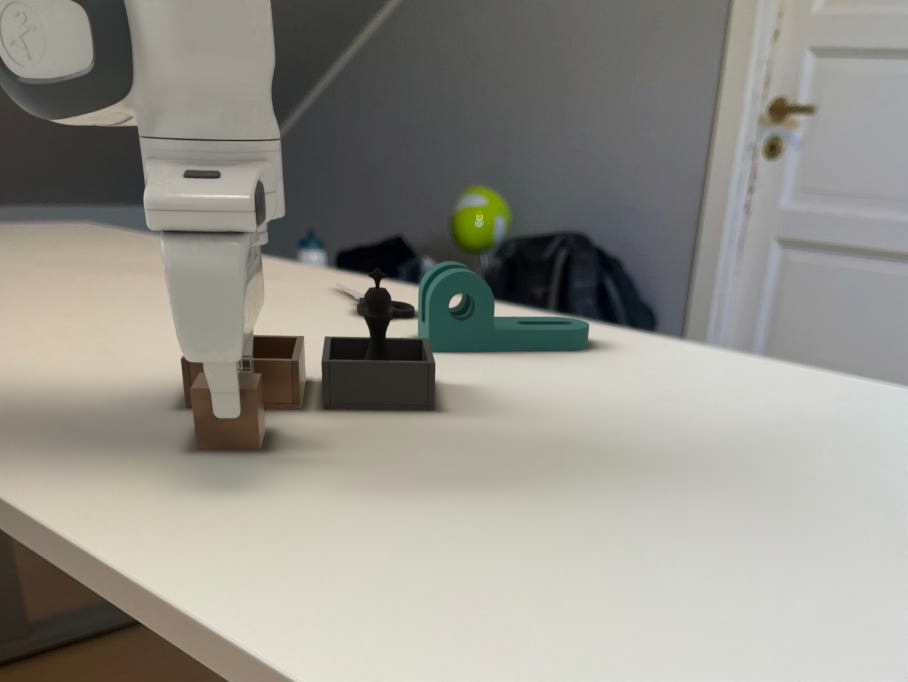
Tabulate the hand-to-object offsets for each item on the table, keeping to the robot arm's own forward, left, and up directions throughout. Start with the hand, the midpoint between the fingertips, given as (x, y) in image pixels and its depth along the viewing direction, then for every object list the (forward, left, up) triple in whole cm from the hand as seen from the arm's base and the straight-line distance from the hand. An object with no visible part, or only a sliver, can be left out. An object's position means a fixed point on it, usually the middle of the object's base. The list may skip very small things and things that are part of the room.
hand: (235, 396), depth 71 cm
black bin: (+10, +13, -3) cm, 17 cm away
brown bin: (-1, +13, -3) cm, 13 cm away
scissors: (+9, +55, -3) cm, 56 cm away
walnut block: (-1, 0, -3) cm, 3 cm away
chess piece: (+10, +13, -3) cm, 17 cm away
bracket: (+24, +34, -4) cm, 42 cm away
